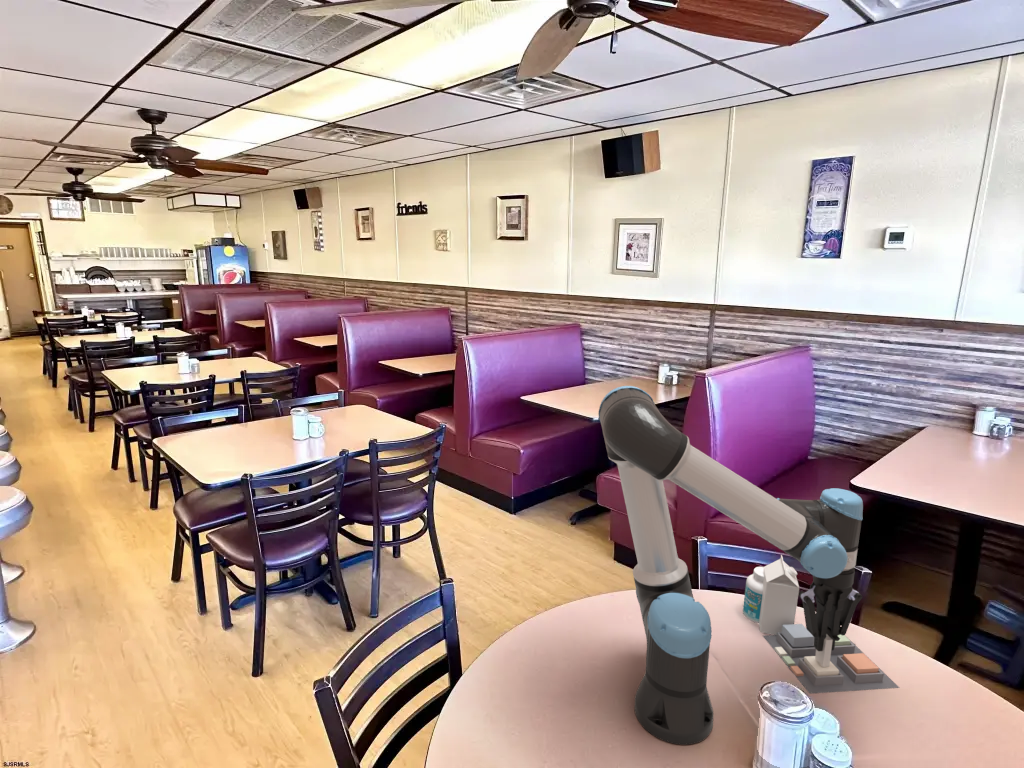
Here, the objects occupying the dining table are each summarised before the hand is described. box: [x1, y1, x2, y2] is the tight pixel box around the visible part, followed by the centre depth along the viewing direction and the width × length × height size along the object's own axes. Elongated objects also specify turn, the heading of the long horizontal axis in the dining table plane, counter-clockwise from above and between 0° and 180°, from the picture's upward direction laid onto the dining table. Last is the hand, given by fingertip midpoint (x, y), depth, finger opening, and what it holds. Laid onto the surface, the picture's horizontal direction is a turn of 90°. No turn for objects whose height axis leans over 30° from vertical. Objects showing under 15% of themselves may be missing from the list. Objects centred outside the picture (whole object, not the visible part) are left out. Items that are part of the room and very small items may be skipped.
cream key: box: [804, 656, 839, 676], centre depth 123 cm, size 5×5×2 cm
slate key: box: [782, 623, 814, 647], centre depth 131 cm, size 5×5×2 cm
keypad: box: [762, 632, 900, 695], centre depth 128 cm, size 20×19×3 cm
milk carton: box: [758, 554, 800, 635], centre depth 138 cm, size 7×7×19 cm
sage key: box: [835, 634, 852, 646], centre depth 132 cm, size 5×5×2 cm
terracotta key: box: [842, 652, 880, 674], centre depth 123 cm, size 5×5×2 cm
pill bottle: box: [742, 566, 765, 624], centre depth 143 cm, size 8×7×14 cm
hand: (822, 662), depth 122 cm, fingers closed
